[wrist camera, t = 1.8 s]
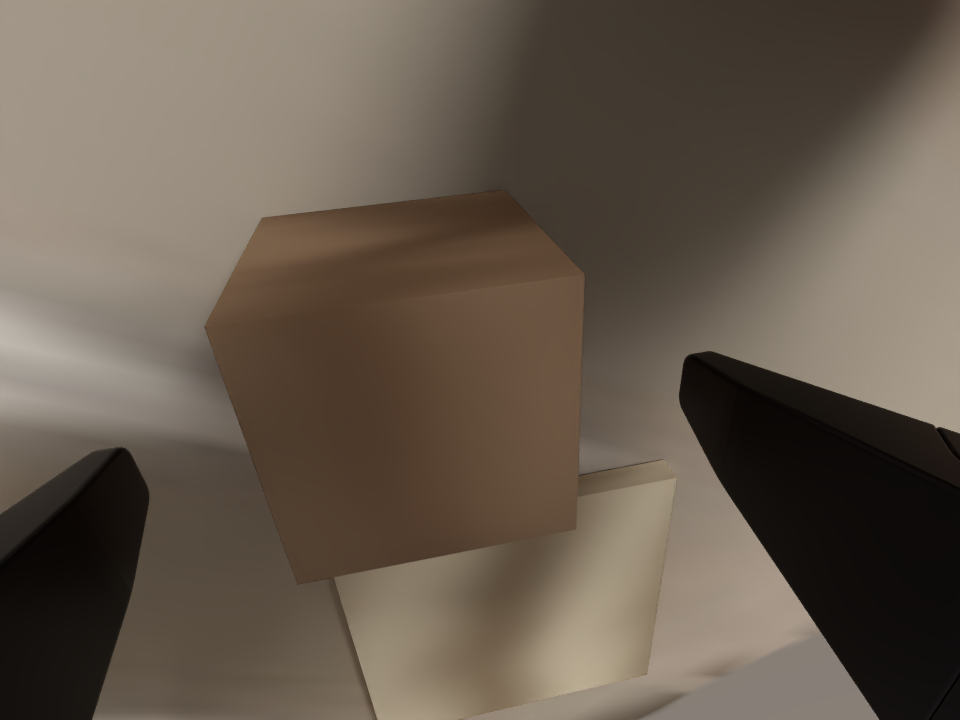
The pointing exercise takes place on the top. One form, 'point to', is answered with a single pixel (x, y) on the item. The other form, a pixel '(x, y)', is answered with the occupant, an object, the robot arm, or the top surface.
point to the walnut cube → (406, 379)
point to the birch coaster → (519, 608)
